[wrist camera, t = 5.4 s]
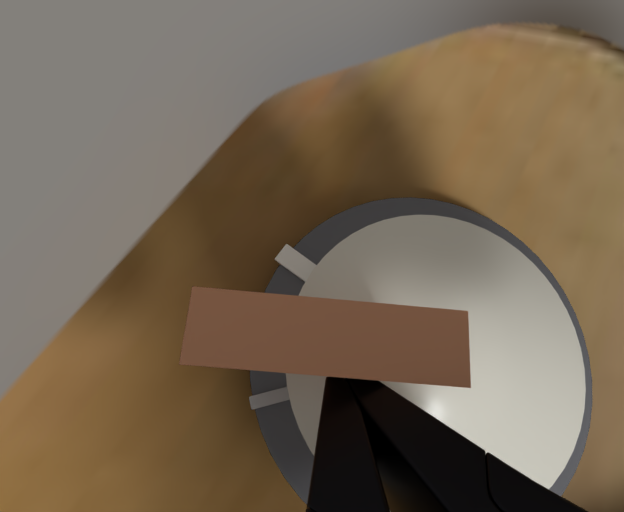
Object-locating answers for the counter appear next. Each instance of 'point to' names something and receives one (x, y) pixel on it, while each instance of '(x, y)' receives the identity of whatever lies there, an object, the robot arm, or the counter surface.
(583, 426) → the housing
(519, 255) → the dial
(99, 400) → the counter surface
